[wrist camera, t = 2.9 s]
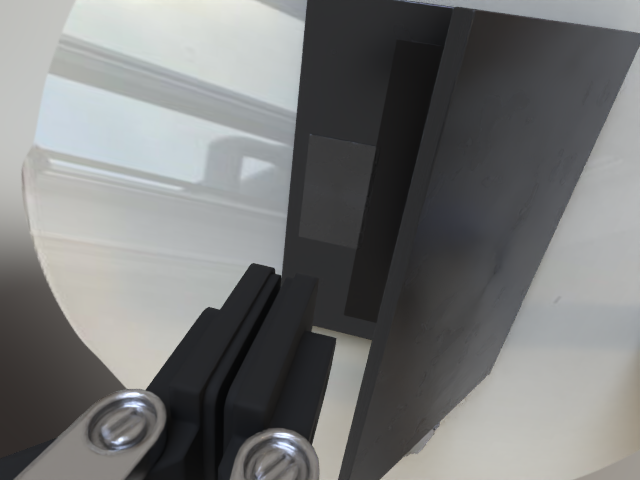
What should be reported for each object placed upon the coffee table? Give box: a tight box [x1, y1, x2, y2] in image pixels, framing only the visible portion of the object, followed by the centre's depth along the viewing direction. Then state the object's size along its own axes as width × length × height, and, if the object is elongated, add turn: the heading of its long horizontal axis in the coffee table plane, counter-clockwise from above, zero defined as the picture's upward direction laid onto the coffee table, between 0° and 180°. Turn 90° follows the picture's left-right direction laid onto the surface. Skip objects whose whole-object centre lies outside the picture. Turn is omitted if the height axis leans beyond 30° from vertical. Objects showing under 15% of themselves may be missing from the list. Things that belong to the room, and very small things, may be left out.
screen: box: [338, 7, 640, 480], centre depth 28 cm, size 21×30×1 cm
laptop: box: [281, 0, 455, 340], centre depth 37 cm, size 21×30×2 cm
